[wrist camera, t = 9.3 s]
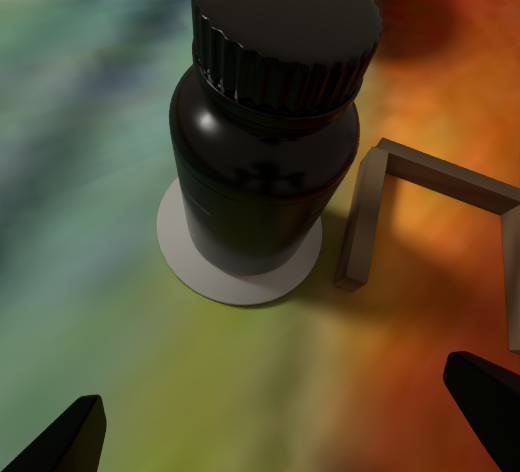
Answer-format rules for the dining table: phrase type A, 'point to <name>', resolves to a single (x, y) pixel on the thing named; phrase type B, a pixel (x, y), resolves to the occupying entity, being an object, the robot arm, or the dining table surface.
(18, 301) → the dining table surface
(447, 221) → the dining table surface
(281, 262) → the supplement bottle
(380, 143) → the wooden u-shaped frame
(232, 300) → the coaster
